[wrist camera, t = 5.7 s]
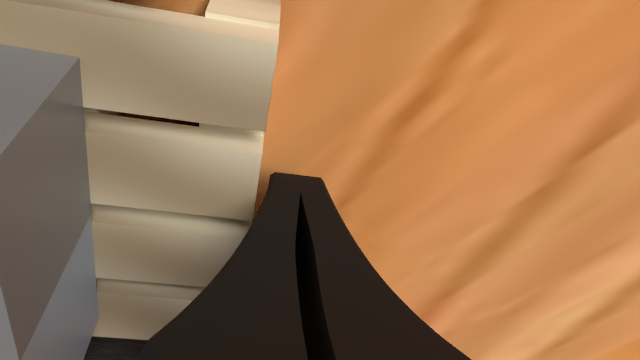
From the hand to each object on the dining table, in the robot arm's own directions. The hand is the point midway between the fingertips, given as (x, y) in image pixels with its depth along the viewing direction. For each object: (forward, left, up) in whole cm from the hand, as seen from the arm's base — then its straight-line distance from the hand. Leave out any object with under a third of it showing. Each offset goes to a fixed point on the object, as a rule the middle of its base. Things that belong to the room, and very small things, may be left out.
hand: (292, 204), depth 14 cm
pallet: (0, +5, -2) cm, 6 cm away
